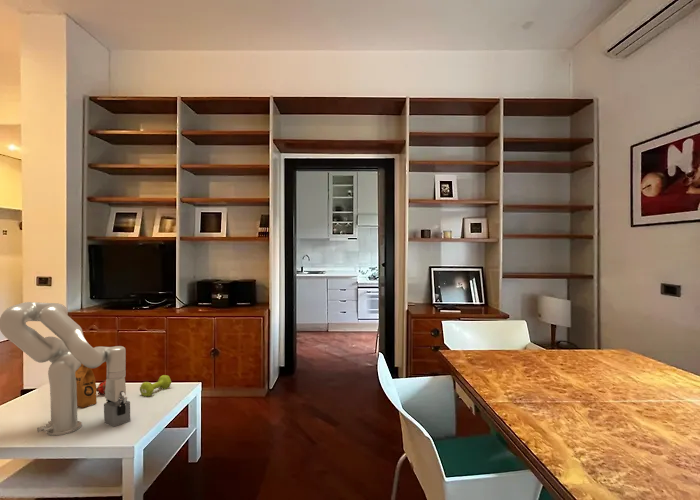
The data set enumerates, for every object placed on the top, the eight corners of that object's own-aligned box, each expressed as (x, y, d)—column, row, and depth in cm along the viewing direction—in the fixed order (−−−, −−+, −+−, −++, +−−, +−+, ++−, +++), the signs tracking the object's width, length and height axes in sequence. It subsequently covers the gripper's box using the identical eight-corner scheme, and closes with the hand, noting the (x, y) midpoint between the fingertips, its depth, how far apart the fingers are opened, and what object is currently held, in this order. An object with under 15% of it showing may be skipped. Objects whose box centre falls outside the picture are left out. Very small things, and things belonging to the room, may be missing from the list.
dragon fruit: (121, 393, 228) (97, 403, 219) (115, 382, 232) (91, 391, 223) (122, 384, 223) (98, 393, 215) (116, 372, 227) (92, 381, 219)
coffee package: (79, 410, 201) (78, 365, 201) (66, 405, 208) (65, 361, 207) (100, 403, 210) (99, 360, 210) (87, 399, 216) (86, 357, 216)
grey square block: (112, 427, 181) (112, 407, 181) (104, 423, 186) (103, 403, 186) (130, 420, 188) (130, 401, 188) (121, 417, 192) (121, 398, 192)
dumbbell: (149, 398, 217) (149, 384, 217) (138, 396, 219) (137, 382, 219) (173, 388, 232) (172, 375, 232) (162, 386, 235) (161, 373, 235)
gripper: (98, 373, 188) (97, 410, 188) (117, 379, 178) (117, 419, 178) (115, 369, 194) (114, 405, 194) (134, 375, 185) (134, 413, 185)
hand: (115, 412), depth 186 cm, fingers open, 9 cm apart
